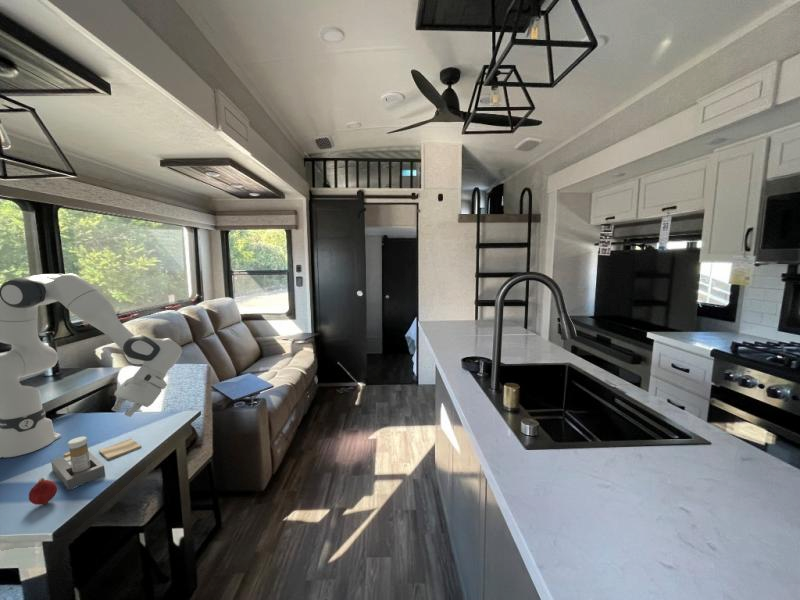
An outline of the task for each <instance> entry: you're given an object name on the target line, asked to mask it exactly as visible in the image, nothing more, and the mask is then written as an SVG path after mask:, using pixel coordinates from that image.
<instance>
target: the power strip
mask: <svg viewBox="0 0 800 600" xmlns="http://www.w3.org/2000/svg"><path fill="white" fill-rule="evenodd" d="M88 452H89V458H90V469H88V470H85V471H83V472H80V473H78V474H75V475H73V471H72V465H71V457H70V451H68V452H66V453H63V456H60V457H56V458H54V459H52V460H50V464H51V469H52V472H53V473H54V472H55V473H56V474H55V473H54V474H55V475H56V477H57V478H58V477H59V478H60V479H59V478H58V479H59V480H60V482H61V481H62V482H63V483H64V484H63V483H62V482H61V483H62V484H63V485H64V487H65V486H66V487H67V488H66V487H65V488H66V490H67V491H68V490H69V491H71V490H70V489H72V488H74V487H76V486H79V485H81V484H83V485H85V484H84V483H86V482H88V483H90V482H93V481H95V480H97V479H99V477H100V478H103V477H104V476H106V471H105V464H103V463H102V462H101V461H100V460H98V458H97V457H96V456H95V455H93V454H92V453H91V451H90V450H88ZM96 478H97V479H96ZM94 479H95V480H94ZM92 480H93V481H92ZM89 481H90V482H89ZM86 484H87V483H86ZM81 486H82V485H81ZM79 487H80V486H79ZM76 488H77V487H76ZM74 489H75V488H74ZM72 490H73V489H72Z"/></svg>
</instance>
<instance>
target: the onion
mask: <svg viewBox="0 0 800 600" xmlns="http://www.w3.org/2000/svg"><path fill="white" fill-rule="evenodd" d="M57 493H58V486H57V484H56V483H55V482H54V481H52V480H47V479H45V478H44V477H41V478H39V479H38V482H37V483H35V485H33V486H32V488H31V489H30V491H29V493H28V500H29V502H30V503H32V504H34V505H36V506H37V505H39V506H40V505H41V506H45V505H46V504H48V503H49V502H51V500H53V498H54V497H55V496H56V494H57Z"/></svg>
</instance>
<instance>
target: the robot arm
mask: <svg viewBox="0 0 800 600" xmlns="http://www.w3.org/2000/svg"><path fill="white" fill-rule="evenodd" d="M57 302H58V303H60V304H61V305H63V307H65V309H67V310H68V311H70V313H72V314H73V315H74V316H76V317H77V318H79V319H80V320H82V321H83V322H85V323H87V324H89V325H90V326H92V327H94V328H96V329H97V330H99V331H100V332H102V333H104V335H106V336H107V338H109V339H110V340H111V341H112V342H114V343H115V344H116V345H117V347H119V348H120V349H121V350H122V352H123V354H124V356H125V359H126V361H127V363H128V364H129V365H130V366H134V367H137V368H138V367H139V369H138V370H137V372H135V374H134V375H133V376H132V377H131V376H130V377H129V378H127V379H125V381H123V383H122V384H121V385H120V386H119V387H118V388H117V389H116V390H115V392H114V394H113V395H114V396H115V397H117V398H116V400H115V403H114V406H113V407H112V408H111V411H113V412H116V413H118V412H119V411H120V410H121V408H122V407H121V406H122V405H123V403H125V402H126V401H128V402H131V403H133V404H132V406H131V408H129V409H127V410H126V411H125V412H124V416H127V417H129V418H131V417H132V416H133V415H134V413H136V412H137V411H138V410H140V409H141V408H142V407H146V408H148V407H150V406H151V405H152V404H154V402H155V401H156V400H157V398H158V397H159V396H160V394H161V393H162V390H164V389H166V387H167V386H168V384H167V382H166V381H165V380H164V379H165V377H166V376H167V373H168V372H169V370H170V369H172V368H173V367H174V366H175V364H176V363H177V362H178V360H179V359H180V357H181V355H182V352H183V348H182V346H181V345H180V344H179V343H178V342H177V341H176V340H174V339H172V338H170V337H167V338H157V337H156V338H155V337H151V336H150V337H149V336H145V335H134V333H132V332H131V331H130V330H129V329H128V328H127V327H125V325H124V324H123V323H122V322H121V320H120V318H119V317H118V316H117V314H116V311H115V309H114V306H113V305H112V303H111V302H110V300H109V299H108V298H107V297H106V295H105V294H104V293H103V292H102V291H100V290H99V289H98V288H97V287H95V286H94V285H93V284H92V283H90V282H89V281H88V280H86V279H85V278H83V277H81V276H79V275H78V274H75V273H65V274H64V273H43V274H42V273H41V274H40V273H39V274H34V275H30V276H29V275H28V276H25V277H16V278H15V277H14V278H12V279H9V280H7V281H5V282H3V283H2V284H1V285H0V343H1V344H6V345H11V349H9V351H8V350H7V351H4V352H0V458H2V457H3V458H13V457H18V456H22V455H26V454H29V453H33V452H35V451H38V450H41V449H43V448H45V447H46V446H49V445H50V444H51V443H53V442H54V441H56V440H59V439H60V438H61V437H62V435H61V433H58V432H55V429H54V424H53V421H52V419H50V418H47V417H46V410H45V407H43V402H42V397H41V391H40V390H39V389H38V388H37V387H34V386H29V385H22V384H21V383H20V379H21V378H24V377H29V376H33V375H36V374H39V373H43V372H45V371H47V370H49V369H51V368H53V367H55V366H56V364H57V363H58V360H59V354H58V352H57V351H56V350H55V349H54V348H53V347H51V346H49V345H47V344H45V343H43V342H42V340H41V339H40V337H39V334H38V332H39V330H38V318H39V315H38V314H39V311H38V310H39V307H40V306H45V305H50V304H53V303H57Z"/></svg>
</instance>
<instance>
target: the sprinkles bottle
mask: <svg viewBox="0 0 800 600" xmlns="http://www.w3.org/2000/svg"><path fill="white" fill-rule="evenodd" d="M67 447H68V449H69V452H70V457H71V465H72V471H73V475H75V474H78V473H80V472H83V471H85V470H88V469H90V458H89V452H90V451H89V448H88V438H87V436H78V437H75V438H72V439H70V440H69V441H68V442H67ZM88 451H89V452H88Z"/></svg>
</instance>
